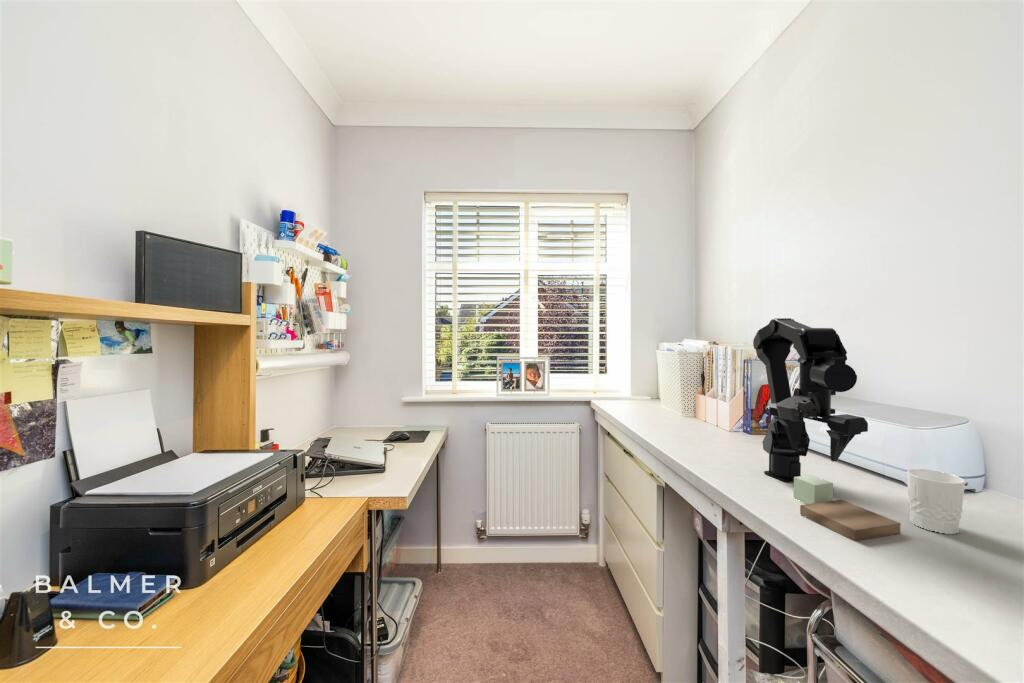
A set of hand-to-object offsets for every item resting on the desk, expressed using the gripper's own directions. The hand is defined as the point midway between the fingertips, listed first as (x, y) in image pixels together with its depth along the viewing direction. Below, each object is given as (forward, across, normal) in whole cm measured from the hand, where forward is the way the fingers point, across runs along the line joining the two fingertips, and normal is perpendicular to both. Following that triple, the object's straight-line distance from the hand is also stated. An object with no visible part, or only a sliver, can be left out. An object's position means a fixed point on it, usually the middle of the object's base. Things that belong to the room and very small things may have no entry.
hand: (813, 454), depth 93 cm
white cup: (+11, +15, +12) cm, 22 cm away
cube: (+11, 0, 0) cm, 11 cm away
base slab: (+10, +10, -3) cm, 15 cm away
